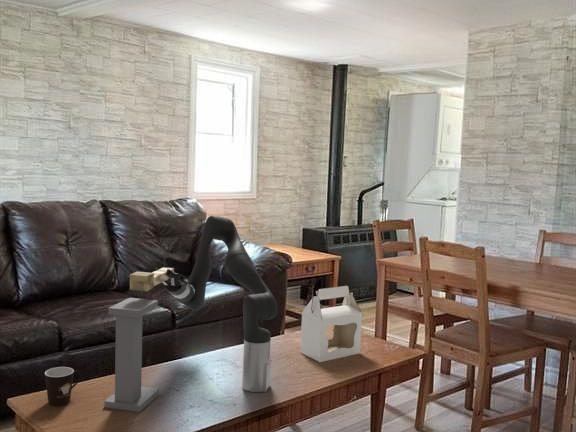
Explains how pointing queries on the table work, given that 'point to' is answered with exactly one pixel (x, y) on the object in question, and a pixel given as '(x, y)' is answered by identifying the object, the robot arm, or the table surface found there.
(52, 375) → the coffee mug
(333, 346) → the gable box
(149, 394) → the grey stand
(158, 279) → the beech bar
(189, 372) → the table surface
